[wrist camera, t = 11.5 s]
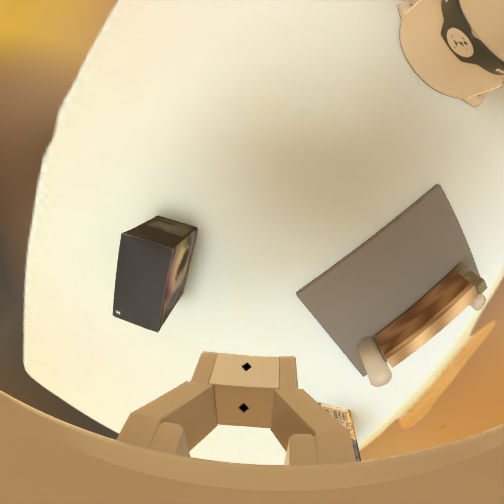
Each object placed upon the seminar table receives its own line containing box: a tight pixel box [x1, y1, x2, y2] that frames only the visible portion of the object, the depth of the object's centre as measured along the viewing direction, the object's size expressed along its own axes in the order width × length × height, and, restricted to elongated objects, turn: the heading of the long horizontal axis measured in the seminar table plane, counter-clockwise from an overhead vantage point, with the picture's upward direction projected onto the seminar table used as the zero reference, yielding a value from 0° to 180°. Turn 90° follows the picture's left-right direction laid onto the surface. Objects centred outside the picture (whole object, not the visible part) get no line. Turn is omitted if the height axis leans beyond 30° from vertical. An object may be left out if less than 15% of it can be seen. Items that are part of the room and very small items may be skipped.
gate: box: [375, 264, 487, 368], centre depth 34 cm, size 17×2×7 cm, turn 132°
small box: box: [113, 216, 197, 332], centre depth 35 cm, size 11×6×10 cm, turn 164°
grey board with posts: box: [296, 184, 486, 387], centre depth 34 cm, size 25×19×9 cm
